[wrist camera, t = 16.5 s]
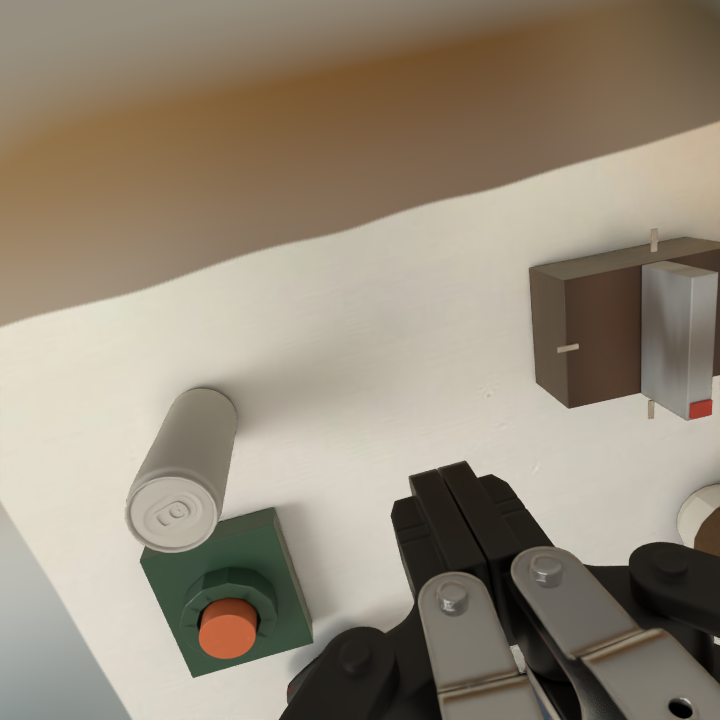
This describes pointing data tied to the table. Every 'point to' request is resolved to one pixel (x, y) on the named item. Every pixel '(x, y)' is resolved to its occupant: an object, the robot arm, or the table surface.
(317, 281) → the table surface
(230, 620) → the button
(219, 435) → the beverage can
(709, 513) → the coffee cup
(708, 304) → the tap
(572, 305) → the base
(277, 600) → the green button base
